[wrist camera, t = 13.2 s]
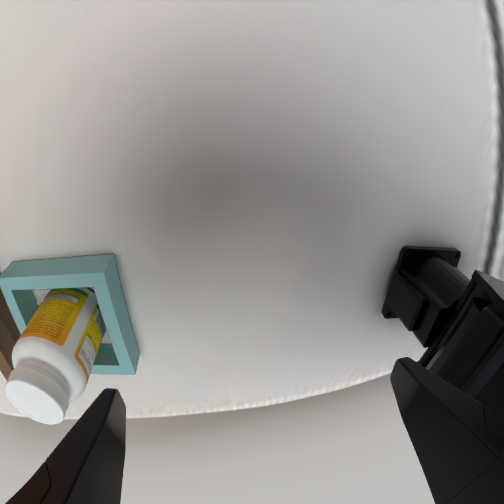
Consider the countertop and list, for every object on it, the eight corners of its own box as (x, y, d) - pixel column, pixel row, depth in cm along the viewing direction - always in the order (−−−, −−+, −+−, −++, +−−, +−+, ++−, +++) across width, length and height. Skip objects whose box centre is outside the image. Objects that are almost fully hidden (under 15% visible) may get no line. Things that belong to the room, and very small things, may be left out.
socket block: (113, 253, 21) (103, 272, 18) (139, 352, 25) (135, 374, 22) (12, 261, 20) (-3, 278, 17) (48, 351, 24) (39, 370, 21)
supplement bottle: (122, 316, 23) (92, 419, 14) (83, 346, 24) (52, 439, 15) (70, 266, 21) (13, 359, 12) (36, 303, 22) (-15, 390, 13)
